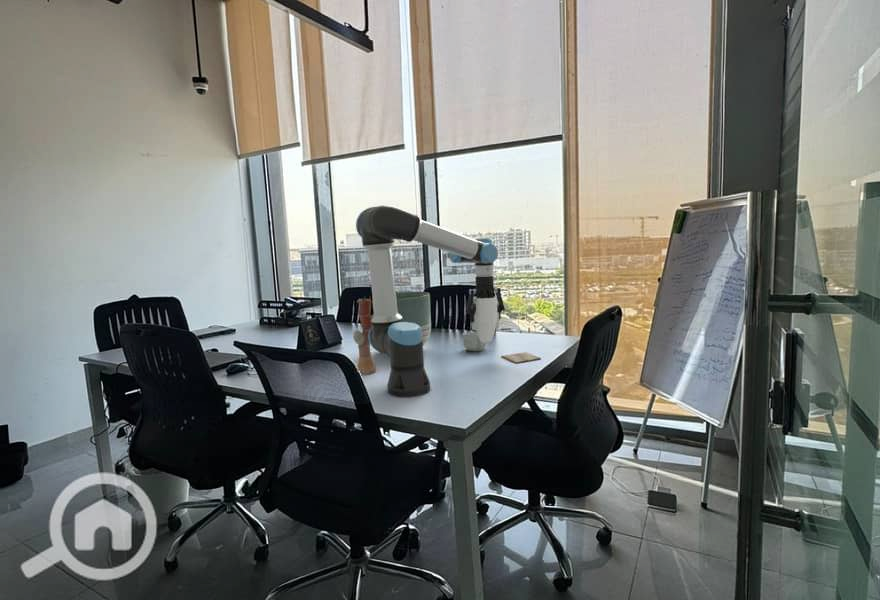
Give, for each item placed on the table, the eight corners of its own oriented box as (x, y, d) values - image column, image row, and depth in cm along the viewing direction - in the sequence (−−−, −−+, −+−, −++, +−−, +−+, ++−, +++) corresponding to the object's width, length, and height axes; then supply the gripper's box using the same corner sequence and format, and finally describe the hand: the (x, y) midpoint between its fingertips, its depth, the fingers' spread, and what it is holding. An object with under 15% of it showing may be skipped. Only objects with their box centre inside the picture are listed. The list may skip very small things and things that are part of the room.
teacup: (461, 348, 228) (461, 331, 227) (484, 346, 229) (483, 330, 228) (466, 355, 214) (465, 337, 213) (490, 353, 215) (489, 335, 214)
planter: (408, 342, 246) (405, 290, 242) (444, 350, 226) (441, 293, 222) (365, 353, 228) (360, 297, 224) (399, 362, 208) (395, 300, 205)
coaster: (515, 363, 196) (515, 362, 196) (501, 357, 207) (501, 355, 207) (540, 359, 201) (540, 358, 200) (525, 353, 212) (525, 352, 212)
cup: (491, 351, 196) (490, 299, 193) (469, 349, 201) (467, 298, 199) (502, 346, 204) (501, 296, 202) (481, 344, 210) (479, 295, 207)
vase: (356, 375, 191) (350, 301, 187) (355, 371, 198) (349, 299, 194) (383, 372, 193) (377, 298, 189) (381, 368, 200) (375, 296, 196)
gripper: (463, 277, 192) (465, 332, 194) (512, 274, 200) (513, 327, 202) (455, 276, 199) (457, 329, 201) (504, 273, 207) (504, 324, 209)
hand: (485, 328), depth 202 cm, fingers closed on cup, 10 cm apart
